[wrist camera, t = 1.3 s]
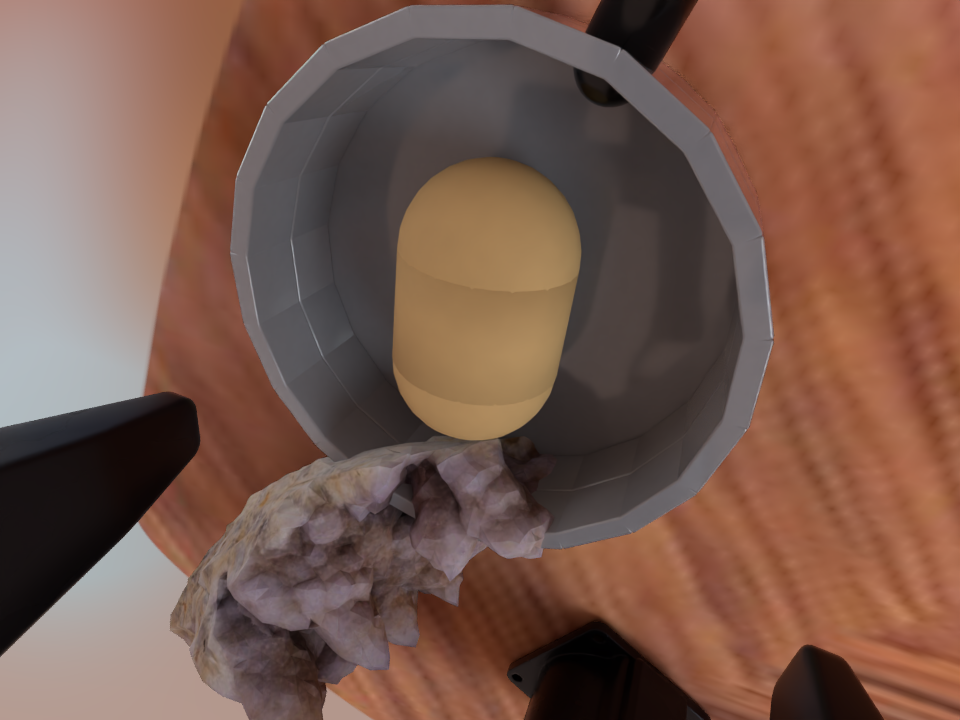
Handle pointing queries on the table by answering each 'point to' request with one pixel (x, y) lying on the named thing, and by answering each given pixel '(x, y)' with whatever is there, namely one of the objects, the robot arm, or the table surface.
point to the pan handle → (632, 38)
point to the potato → (483, 296)
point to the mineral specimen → (351, 565)
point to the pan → (603, 235)
